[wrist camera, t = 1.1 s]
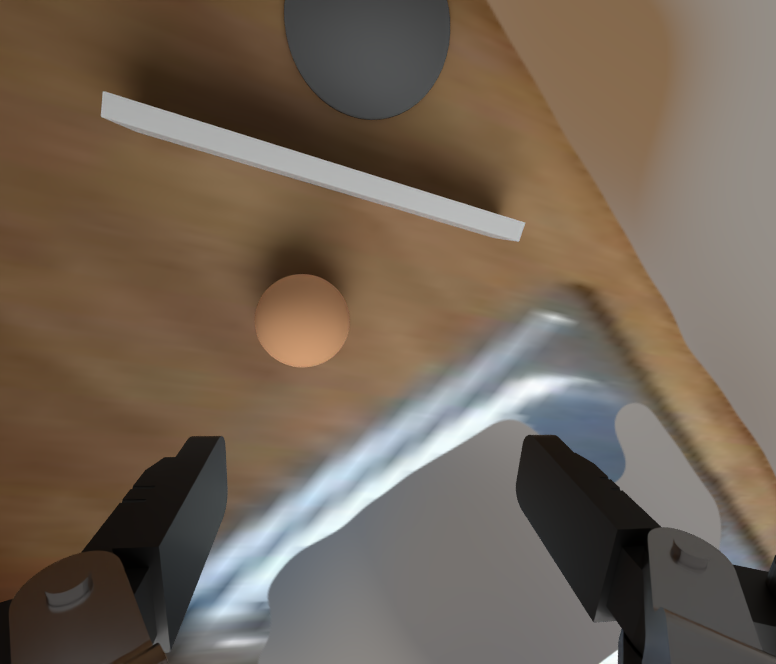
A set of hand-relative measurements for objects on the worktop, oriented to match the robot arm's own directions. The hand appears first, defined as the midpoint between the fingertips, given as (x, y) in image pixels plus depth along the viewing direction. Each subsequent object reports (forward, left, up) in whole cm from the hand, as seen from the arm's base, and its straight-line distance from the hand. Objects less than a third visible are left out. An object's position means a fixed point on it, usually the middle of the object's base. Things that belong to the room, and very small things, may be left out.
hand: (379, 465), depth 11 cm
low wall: (+4, +8, -19) cm, 21 cm away
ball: (-3, +1, -16) cm, 16 cm away
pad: (+10, +14, -19) cm, 26 cm away
